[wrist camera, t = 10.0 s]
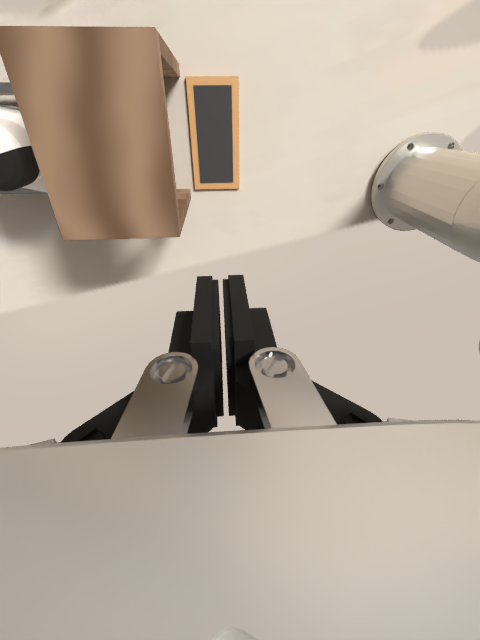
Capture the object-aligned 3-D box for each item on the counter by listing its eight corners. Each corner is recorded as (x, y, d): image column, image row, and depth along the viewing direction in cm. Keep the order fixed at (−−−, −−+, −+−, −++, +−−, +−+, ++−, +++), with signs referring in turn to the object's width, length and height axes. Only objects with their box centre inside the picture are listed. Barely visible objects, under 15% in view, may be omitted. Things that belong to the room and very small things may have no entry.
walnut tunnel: (178, 63, 34) (154, 27, 21) (190, 198, 42) (179, 237, 29) (81, 63, 34) (-9, 25, 20) (112, 199, 42) (63, 240, 28)
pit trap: (238, 76, 35) (238, 76, 35) (239, 187, 42) (239, 188, 42) (186, 76, 35) (185, 76, 35) (195, 188, 42) (195, 189, 41)
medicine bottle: (79, 184, 40) (35, 205, 30) (20, 171, 39) (-47, 189, 29) (76, 121, 37) (24, 122, 27) (10, 105, 35) (-70, 100, 25)
